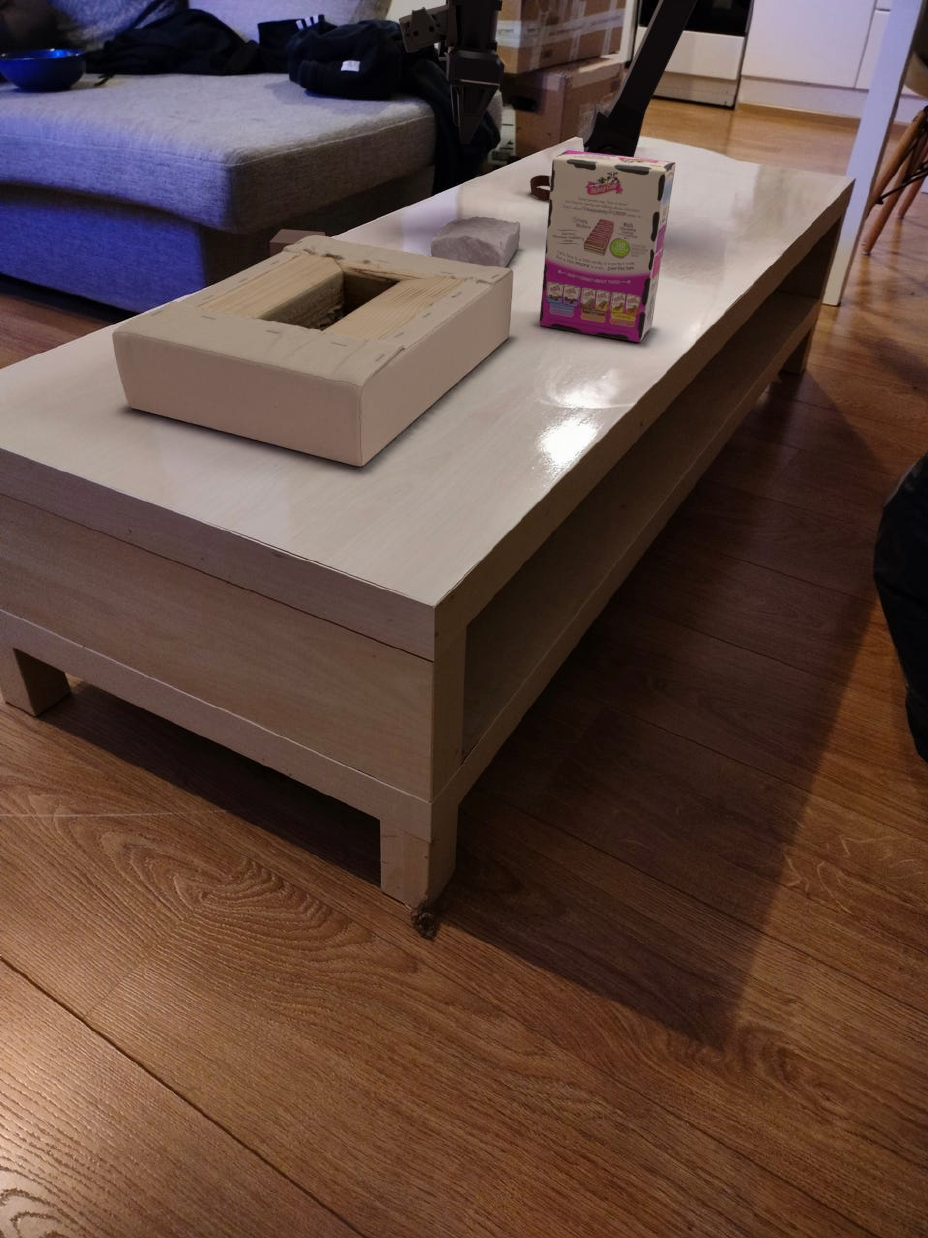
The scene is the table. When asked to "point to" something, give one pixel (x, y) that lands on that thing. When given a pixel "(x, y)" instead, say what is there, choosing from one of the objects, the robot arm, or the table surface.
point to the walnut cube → (288, 239)
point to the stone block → (477, 241)
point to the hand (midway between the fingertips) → (461, 134)
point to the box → (317, 346)
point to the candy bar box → (604, 243)
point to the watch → (540, 181)
